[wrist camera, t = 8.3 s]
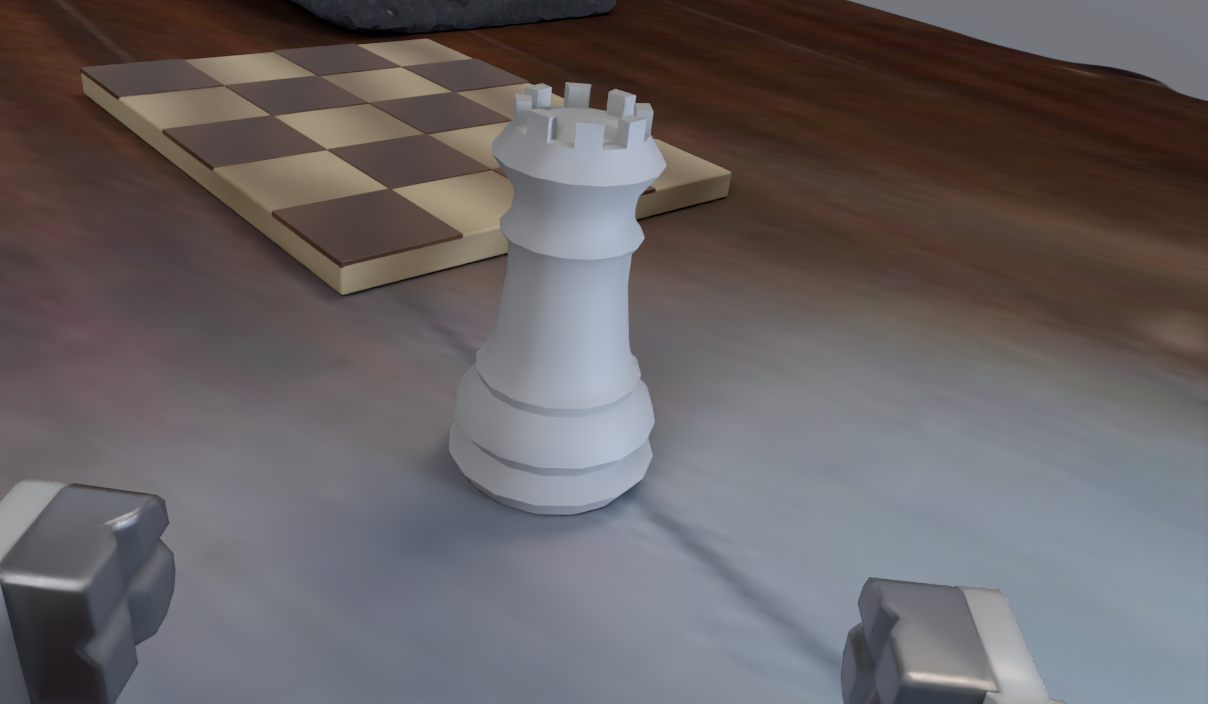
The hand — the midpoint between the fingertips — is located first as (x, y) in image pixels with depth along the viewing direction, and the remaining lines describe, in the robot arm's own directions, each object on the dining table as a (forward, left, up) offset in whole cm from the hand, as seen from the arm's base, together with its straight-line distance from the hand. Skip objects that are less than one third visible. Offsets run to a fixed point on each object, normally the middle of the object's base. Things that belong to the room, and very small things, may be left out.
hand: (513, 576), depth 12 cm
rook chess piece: (-6, -7, -5) cm, 11 cm away
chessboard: (-14, -26, -5) cm, 30 cm away
